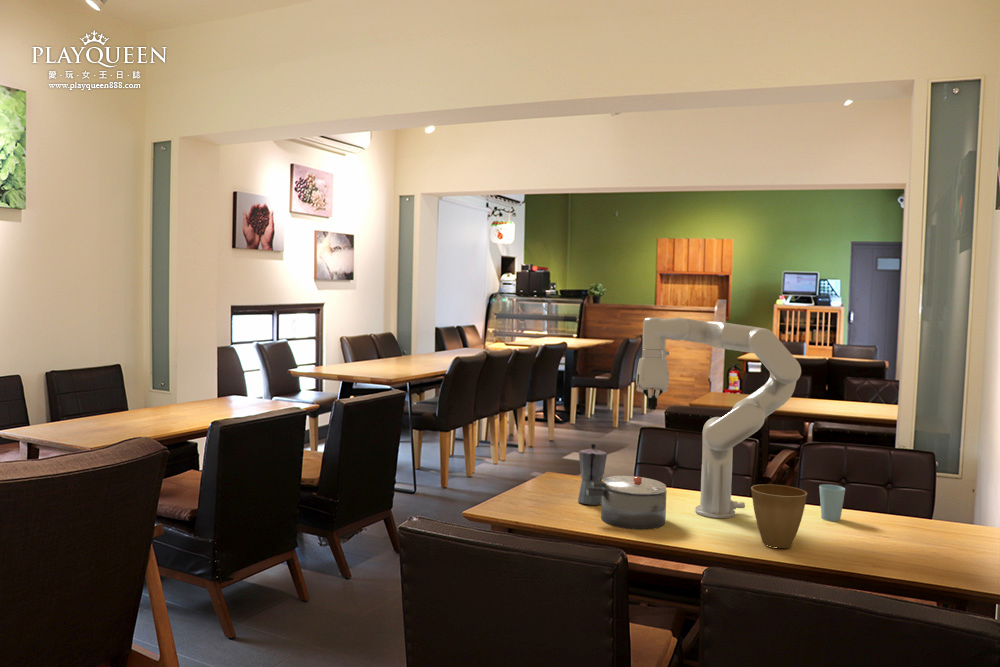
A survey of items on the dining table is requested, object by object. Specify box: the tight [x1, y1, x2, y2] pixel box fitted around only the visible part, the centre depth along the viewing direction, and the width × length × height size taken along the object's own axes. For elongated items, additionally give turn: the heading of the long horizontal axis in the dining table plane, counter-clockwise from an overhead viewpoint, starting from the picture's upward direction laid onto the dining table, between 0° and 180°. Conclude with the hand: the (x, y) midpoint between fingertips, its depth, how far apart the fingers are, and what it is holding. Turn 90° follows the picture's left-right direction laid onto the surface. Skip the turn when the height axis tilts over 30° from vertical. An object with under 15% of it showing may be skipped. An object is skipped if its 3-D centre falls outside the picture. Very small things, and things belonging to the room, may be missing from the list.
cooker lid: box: [591, 475, 667, 495], centre depth 228 cm, size 23×20×3 cm
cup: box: [818, 484, 846, 522], centre depth 236 cm, size 8×8×10 cm
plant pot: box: [750, 483, 808, 549], centre depth 207 cm, size 15×15×16 cm
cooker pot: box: [586, 487, 668, 531], centre depth 228 cm, size 25×20×10 cm
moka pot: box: [577, 443, 608, 506], centre depth 247 cm, size 10×15×20 cm, turn 174°
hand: (651, 409), depth 243 cm, fingers closed
